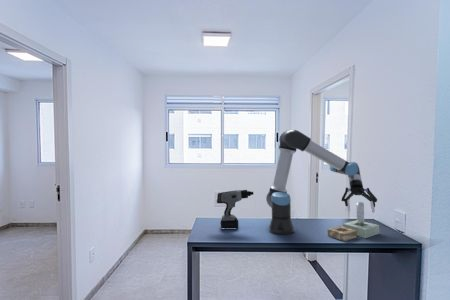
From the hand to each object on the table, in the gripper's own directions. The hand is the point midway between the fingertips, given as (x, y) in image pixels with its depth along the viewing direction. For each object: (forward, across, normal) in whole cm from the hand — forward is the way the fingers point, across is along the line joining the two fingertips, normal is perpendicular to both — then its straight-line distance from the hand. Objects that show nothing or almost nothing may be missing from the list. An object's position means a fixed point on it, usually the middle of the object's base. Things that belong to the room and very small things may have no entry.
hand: (361, 210), depth 165 cm
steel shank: (+10, +1, -8) cm, 13 cm away
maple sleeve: (+17, +13, -2) cm, 21 cm away
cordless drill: (+13, +77, -6) cm, 78 cm away
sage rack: (+10, +1, -8) cm, 13 cm away
